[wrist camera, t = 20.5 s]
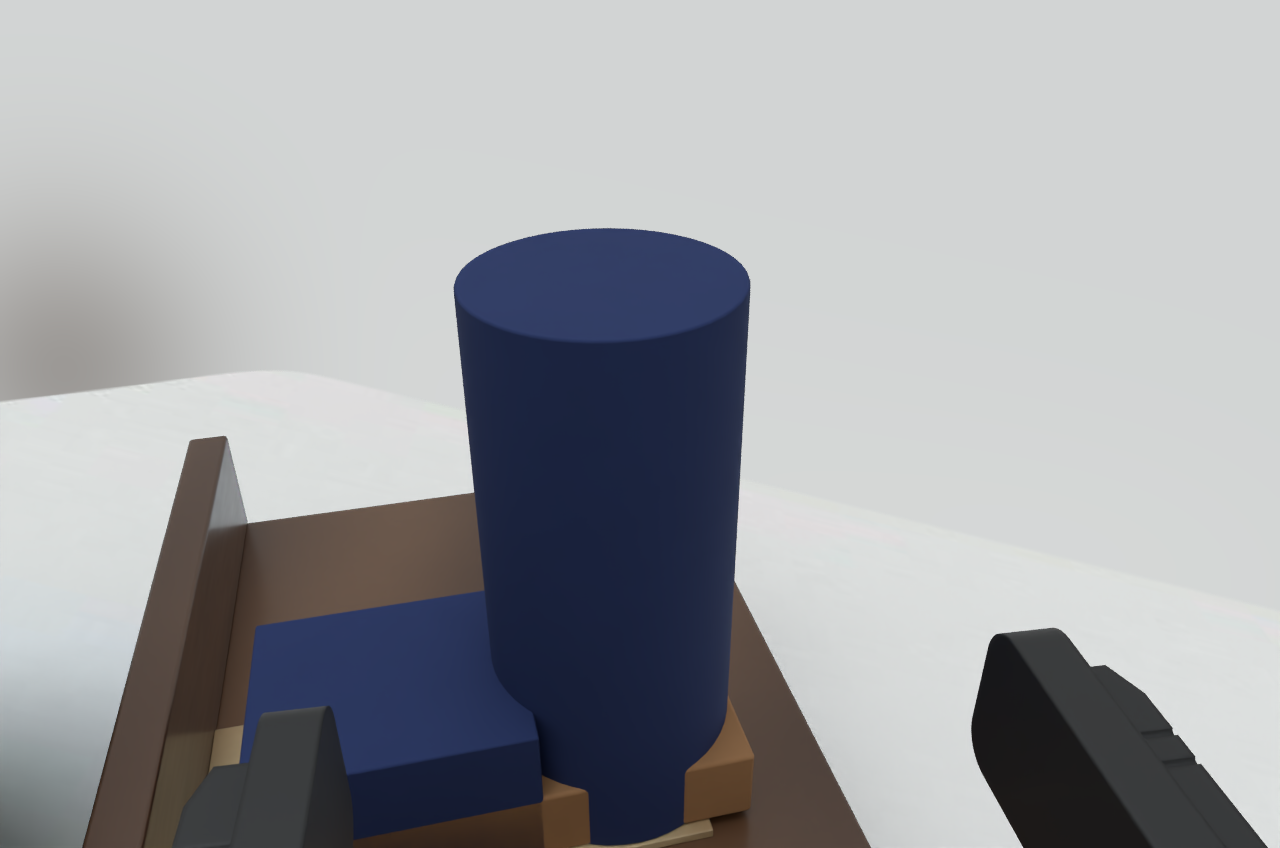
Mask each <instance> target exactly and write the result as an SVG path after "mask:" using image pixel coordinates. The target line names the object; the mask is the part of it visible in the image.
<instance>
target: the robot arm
mask: <svg viewBox="0 0 1280 848" xmlns="http://www.w3.org/2000/svg"><path fill="white" fill-rule="evenodd" d="M1172 729H1173V728H1172V727H1171V726H1170V724H1169V723H1168V722H1167V721H1166V719H1165V718H1164V717H1163V716H1162V714H1161V713H1160V712H1159V711H1158V709H1157V708H1156V707H1155V706H1154V704H1153V703H1152V702H1151V701H1150V699H1149V698H1148V697H1147V695H1146V694H1145V693H1143V692H1142V691H1141V690H1139V689H1138V688H1137V687H1135V686H1134V685H1132V684H1131V683H1130V682H1128V681H1127V680H1125V679H1124V678H1123V677H1121V676H1120V675H1118V674H1117V673H1116V672H1114V671H1113V670H1111V669H1110V668H1109V667H1107V666H1106V665H1102V666H1094V667H1090V666H1089V664H1088V663H1087V662H1086V660H1085V659H1084V658H1083V656H1082V655H1081V654H1080V652H1079V651H1078V650H1077V648H1076V647H1075V646H1074V644H1073V643H1072V642H1071V640H1070V639H1069V638H1068V637H1067V636H1066V634H1064V633H1063V632H1062V631H1061V630H1059V629H1057V628H1047V629H1038V630H1029V631H1020V632H1011V633H1002V634H996V635H995V636H994V637H993V638H992V639H991V641H990V643H989V647H988V651H987V655H986V660H985V664H984V669H983V673H982V677H981V682H980V686H979V691H978V695H977V700H976V704H975V709H974V713H973V717H972V726H971V733H972V743H973V749H974V753H975V757H976V760H977V763H978V765H979V768H980V770H981V772H982V774H983V776H984V778H985V779H986V781H987V783H988V785H989V787H990V788H991V790H992V792H993V794H994V796H995V797H996V799H997V801H998V803H999V805H1000V806H1001V808H1002V810H1003V812H1004V814H1005V815H1006V817H1007V819H1008V821H1009V823H1010V824H1011V826H1012V828H1013V830H1014V832H1015V833H1016V835H1017V837H1018V839H1019V841H1020V842H1021V844H1022V846H1023V848H1268V847H1267V846H1266V845H1265V844H1264V842H1263V841H1262V840H1261V839H1260V837H1259V836H1258V835H1257V834H1256V832H1255V831H1254V830H1253V829H1252V827H1251V826H1250V825H1249V823H1248V822H1247V821H1246V820H1245V818H1244V817H1243V816H1242V815H1241V813H1240V812H1239V811H1238V810H1237V808H1236V807H1235V806H1234V805H1233V803H1232V802H1231V801H1230V800H1229V798H1228V797H1227V796H1226V795H1225V793H1224V792H1223V791H1222V790H1221V788H1220V787H1219V786H1218V785H1217V783H1216V782H1215V781H1214V780H1213V778H1212V777H1211V776H1210V775H1209V773H1208V772H1207V771H1206V770H1205V768H1204V767H1203V766H1202V765H1201V764H1197V763H1196V761H1195V756H1194V754H1193V753H1192V752H1191V751H1190V749H1189V748H1188V747H1187V746H1186V744H1185V743H1184V742H1183V741H1182V739H1181V738H1180V737H1179V736H1178V735H1174V734H1173V731H1172ZM172 848H353V808H352V799H351V793H350V788H349V783H348V779H347V774H346V769H345V764H344V760H343V755H342V750H341V746H340V741H339V736H338V731H337V727H336V722H335V718H334V714H333V711H332V708H331V707H330V706H321V707H312V708H303V709H294V710H285V711H276V712H267V713H263V714H262V715H261V717H260V719H259V721H258V725H257V729H256V733H255V737H254V742H253V746H252V750H251V755H250V759H249V763H240V764H232V765H223V766H215V767H213V768H212V770H211V771H210V772H209V774H208V775H207V776H206V778H205V779H204V780H203V782H202V783H201V784H200V786H199V787H198V788H197V790H196V791H195V792H194V794H193V795H192V796H191V798H190V799H189V800H188V802H187V803H186V804H185V806H184V807H183V810H182V813H181V817H180V820H179V824H178V827H177V831H176V834H175V838H174V841H173V845H172Z"/></svg>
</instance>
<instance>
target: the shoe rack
mask: <svg viewBox="0 0 1280 848" xmlns="http://www.w3.org/2000/svg"><path fill="white" fill-rule="evenodd" d="M477 591H484V581H483V571H482V561H481V552H480V542H479V532H478V522H477V513H476V503H475V493H469V494H461V495H454V496H446V497H439V498H432V499H424V500H417V501H410V502H402V503H395V504H388V505H380V506H373V507H366V508H358V509H351V510H343V511H336V512H329V513H321V514H314V515H307V516H299V517H292V518H285V519H277V520H270V521H263V522H255V523H248V524H247V517H246V513H245V509H244V505H243V501H242V497H241V493H240V489H239V484H238V480H237V476H236V472H235V468H234V464H233V460H232V456H231V451H230V447H229V443H228V439H227V438H226V436H220V437H211V438H203V439H195V440H191V441H190V442H189V446H188V450H187V454H186V458H185V461H184V465H183V469H182V473H181V476H180V480H179V484H178V488H177V492H176V495H175V499H174V503H173V507H172V510H171V514H170V518H169V522H168V526H167V529H166V533H165V537H164V541H163V544H162V548H161V552H160V556H159V560H158V563H157V567H156V571H155V575H154V578H153V582H152V586H151V590H150V594H149V597H148V601H147V605H146V609H145V612H144V616H143V620H142V624H141V628H140V631H139V635H138V639H137V643H136V647H135V650H134V654H133V658H132V662H131V665H130V669H129V673H128V677H127V681H126V684H125V688H124V692H123V696H122V699H121V703H120V707H119V711H118V715H117V718H116V722H115V726H114V730H113V733H112V737H111V741H110V745H109V749H108V752H107V756H106V760H105V764H104V767H103V771H102V775H101V779H100V783H99V786H98V790H97V794H96V798H95V801H94V805H93V809H92V813H91V817H90V820H89V824H88V828H87V832H86V835H85V839H84V843H83V847H82V848H172V845H173V841H174V838H175V834H176V831H177V827H178V824H179V820H180V817H181V813H182V810H183V807H184V806H185V804H186V803H187V802H188V800H189V799H190V798H191V796H192V795H193V794H194V792H195V791H196V790H197V788H198V787H199V786H200V784H201V783H202V782H203V780H204V779H205V778H206V776H207V775H208V774H209V772H210V771H211V770H212V768H213V767H215V766H223V765H232V764H239V761H240V752H241V744H242V736H243V727H244V719H245V711H246V702H247V694H248V686H249V677H250V669H251V661H252V653H253V644H254V636H255V628H256V626H259V625H266V624H272V623H279V622H285V621H291V620H298V619H304V618H311V617H317V616H324V615H330V614H336V613H343V612H349V611H356V610H362V609H368V608H375V607H381V606H388V605H394V604H400V603H407V602H413V601H420V600H426V599H433V598H439V597H445V596H452V595H458V594H465V593H471V592H477ZM728 697H729V699H730V701H731V704H732V706H733V708H734V710H735V713H736V715H737V717H738V720H739V722H740V724H741V727H742V729H743V731H744V733H745V736H746V738H747V740H748V743H749V745H750V747H751V749H752V752H753V754H754V767H753V780H752V793H751V806H750V809H748V810H745V811H740V812H736V813H731V814H726V815H721V816H717V817H712V818H707V819H703V820H698V821H693V822H688V823H685V824H683V825H682V826H680V827H678V828H676V829H675V830H673V831H671V832H669V833H667V834H664V835H662V836H659V837H657V838H654V839H651V840H647V841H644V842H640V843H634V844H627V845H611V846H607V845H593V844H584V845H579V846H575V847H570V848H871V847H870V845H869V843H868V841H867V839H866V837H865V835H864V833H863V831H862V829H861V828H860V826H859V824H858V822H857V820H856V818H855V816H854V814H853V812H852V810H851V808H850V806H849V804H848V802H847V800H846V798H845V796H844V794H843V792H842V790H841V788H840V786H839V784H838V783H837V781H836V779H835V777H834V775H833V773H832V771H831V769H830V767H829V765H828V763H827V761H826V759H825V757H824V755H823V753H822V751H821V749H820V747H819V745H818V743H817V741H816V740H815V738H814V736H813V734H812V732H811V730H810V728H809V726H808V724H807V722H806V720H805V718H804V716H803V714H802V712H801V710H800V708H799V706H798V704H797V702H796V700H795V698H794V697H793V695H792V693H791V691H790V689H789V687H788V685H787V683H786V681H785V679H784V677H783V675H782V673H781V671H780V669H779V667H778V665H777V663H776V661H775V659H774V657H773V655H772V654H771V652H770V650H769V648H768V646H767V644H766V642H765V640H764V638H763V636H762V634H761V632H760V630H759V628H758V626H757V624H756V622H755V620H754V618H753V616H752V614H751V612H750V611H749V609H748V607H747V605H746V603H745V601H744V599H743V597H742V595H741V593H740V591H739V589H738V587H737V585H736V583H735V581H734V592H733V610H732V628H731V646H730V664H729V682H728Z"/></svg>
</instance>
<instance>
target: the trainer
mask: <svg viewBox="0 0 1280 848" xmlns="http://www.w3.org/2000/svg"><path fill="white" fill-rule="evenodd" d="M454 298H455V308H456V318H457V327H458V337H459V347H460V356H461V366H462V376H463V386H464V396H465V406H466V415H467V425H468V435H469V445H470V454H471V464H472V474H473V484H474V493H475V503H476V513H477V522H478V532H479V542H480V552H481V561H482V571H483V581H484V591H477V592H471V593H465V594H458V595H452V596H445V597H439V598H433V599H426V600H420V601H413V602H407V603H400V604H394V605H388V606H381V607H375V608H368V609H362V610H356V611H349V612H343V613H336V614H330V615H324V616H317V617H311V618H304V619H298V620H291V621H285V622H279V623H272V624H266V625H259V626H256V628H255V636H254V644H253V653H252V661H251V669H250V677H249V686H248V694H247V702H246V711H245V719H244V727H243V736H242V744H241V752H240V761H239V764H240V763H249V759H250V755H251V750H252V746H253V742H254V737H255V733H256V729H257V725H258V721H259V719H260V717H261V715H262V714H263V713H267V712H276V711H285V710H294V709H303V708H312V707H321V706H330V707H331V708H332V711H333V714H334V718H335V722H336V727H337V731H338V736H339V741H340V746H341V750H342V755H343V760H344V764H345V769H346V774H347V779H348V783H349V788H350V793H351V799H352V808H353V848H570V847H575V846H579V845H584V844H593V845H607V846H611V845H627V844H634V843H640V842H644V841H647V840H651V839H654V838H657V837H659V836H662V835H664V834H667V833H669V832H671V831H673V830H675V829H676V828H678V827H680V826H682V825H683V824H685V823H688V822H693V821H698V820H703V819H707V818H712V817H717V816H721V815H726V814H731V813H736V812H740V811H745V810H748V809H750V806H751V793H752V780H753V767H754V754H753V752H752V749H751V747H750V745H749V743H748V740H747V738H746V736H745V733H744V731H743V729H742V727H741V724H740V722H739V720H738V717H737V715H736V713H735V710H734V708H733V706H732V704H731V701H730V699H729V697H728V682H729V664H730V646H731V628H732V610H733V592H734V574H735V556H736V538H737V520H738V502H739V484H740V465H741V447H742V430H743V411H744V393H745V375H746V357H747V356H746V355H747V339H748V321H749V303H750V279H749V276H748V273H747V271H746V270H745V268H744V267H743V266H742V264H741V263H739V262H738V261H737V260H736V259H735V258H734V257H732V256H731V255H729V254H728V253H726V252H724V251H722V250H720V249H718V248H716V247H714V246H711V245H709V244H706V243H704V242H701V241H697V240H694V239H691V238H687V237H682V236H678V235H673V234H668V233H662V232H655V231H647V230H636V229H635V230H634V229H615V228H614V229H612V228H603V229H581V230H580V229H579V230H568V231H559V232H553V233H547V234H541V235H537V236H532V237H527V238H523V239H520V240H516V241H513V242H509V243H506V244H504V245H501V246H498V247H496V248H493V249H491V250H489V251H487V252H485V253H483V254H481V255H479V256H478V257H476V258H475V259H473V260H472V261H470V262H469V263H468V264H467V265H466V266H465V267H464V268H463V269H462V270H461V271H460V273H459V274H458V276H457V278H456V281H455V284H454Z"/></svg>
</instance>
